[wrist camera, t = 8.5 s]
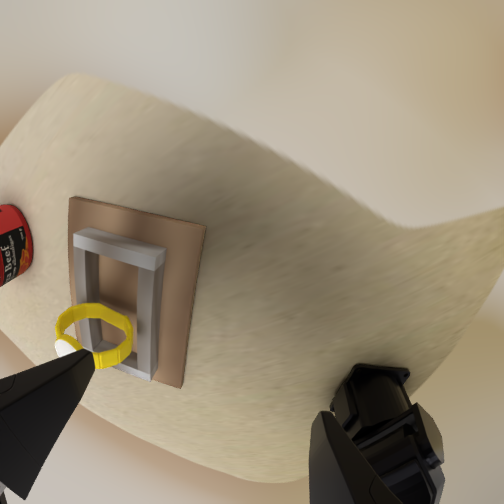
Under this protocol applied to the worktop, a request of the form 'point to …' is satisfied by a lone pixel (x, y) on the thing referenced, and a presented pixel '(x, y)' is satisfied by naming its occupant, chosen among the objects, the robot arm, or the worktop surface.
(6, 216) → the canned food
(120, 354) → the watch
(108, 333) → the track board
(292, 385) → the worktop surface
